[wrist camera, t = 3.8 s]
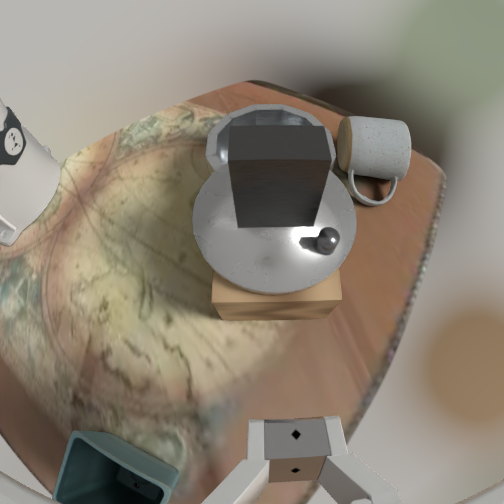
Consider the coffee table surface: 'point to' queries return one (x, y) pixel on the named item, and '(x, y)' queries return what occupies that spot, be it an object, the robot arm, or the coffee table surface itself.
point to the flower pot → (111, 472)
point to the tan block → (275, 301)
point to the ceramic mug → (373, 151)
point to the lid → (275, 211)
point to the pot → (256, 116)
